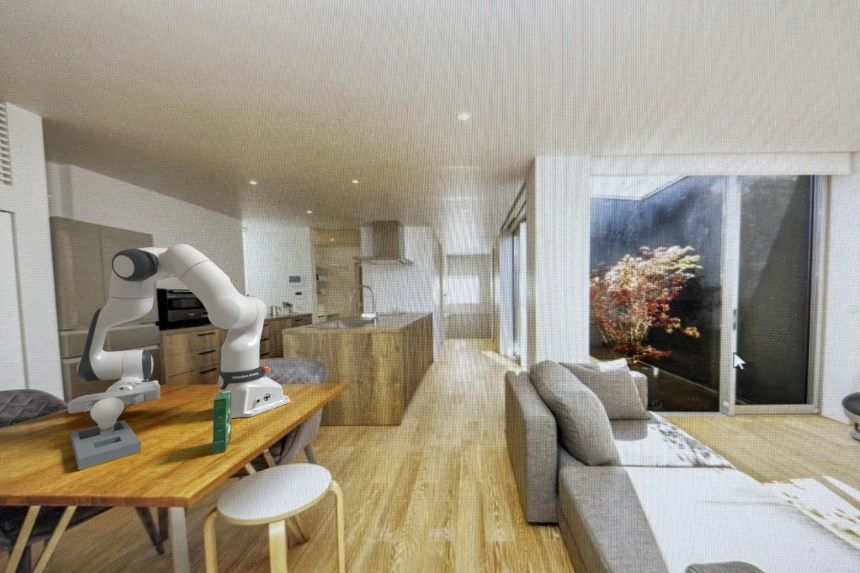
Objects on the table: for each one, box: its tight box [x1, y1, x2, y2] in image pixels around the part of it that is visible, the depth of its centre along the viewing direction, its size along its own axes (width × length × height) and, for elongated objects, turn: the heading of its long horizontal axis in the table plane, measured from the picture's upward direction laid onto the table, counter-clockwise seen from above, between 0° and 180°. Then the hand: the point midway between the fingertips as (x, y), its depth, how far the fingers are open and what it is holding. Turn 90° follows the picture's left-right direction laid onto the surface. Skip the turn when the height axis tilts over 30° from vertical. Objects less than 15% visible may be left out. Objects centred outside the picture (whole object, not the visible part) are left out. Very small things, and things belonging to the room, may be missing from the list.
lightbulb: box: [89, 397, 125, 435], centre depth 82 cm, size 6×6×11 cm
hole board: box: [70, 419, 142, 471], centre depth 77 cm, size 10×24×2 cm, turn 53°
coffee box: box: [212, 391, 232, 455], centre depth 76 cm, size 8×3×13 cm, turn 25°
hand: (111, 405), depth 89 cm, fingers open, 8 cm apart
